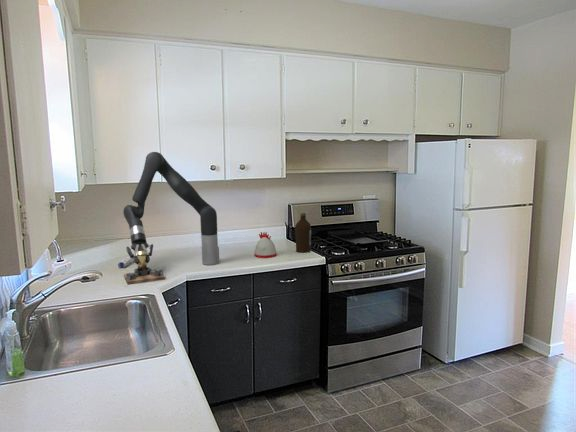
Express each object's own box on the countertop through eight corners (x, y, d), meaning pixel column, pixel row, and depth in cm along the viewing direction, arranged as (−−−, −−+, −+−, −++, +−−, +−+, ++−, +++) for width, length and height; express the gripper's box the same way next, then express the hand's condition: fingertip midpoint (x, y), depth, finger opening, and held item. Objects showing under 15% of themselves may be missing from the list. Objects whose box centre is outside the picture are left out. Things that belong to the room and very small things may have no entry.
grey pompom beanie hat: (261, 252, 269) (260, 229, 267) (280, 254, 263) (279, 231, 261) (250, 257, 256) (249, 233, 254) (269, 259, 250) (269, 234, 248)
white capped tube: (116, 262, 233) (134, 246, 257) (117, 273, 234) (135, 256, 258) (125, 262, 232) (142, 246, 256) (126, 273, 234) (144, 256, 258)
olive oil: (295, 253, 264) (295, 214, 261) (294, 249, 275) (294, 212, 271) (312, 252, 265) (312, 214, 261) (310, 249, 275) (310, 212, 272)
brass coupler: (146, 268, 218) (145, 249, 217) (147, 270, 214) (146, 251, 213) (137, 269, 216) (135, 250, 215) (138, 271, 212) (137, 252, 211)
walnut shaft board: (159, 272, 224) (158, 269, 224) (165, 279, 210) (165, 276, 210) (123, 276, 216) (123, 274, 216) (127, 284, 202) (127, 281, 202)
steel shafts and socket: (158, 269, 223) (158, 264, 223) (163, 275, 212) (163, 270, 211) (124, 274, 215) (123, 269, 215) (127, 280, 204) (127, 275, 203)
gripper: (124, 233, 216) (128, 260, 207) (152, 230, 222) (157, 257, 214) (123, 241, 221) (127, 268, 212) (151, 238, 228) (156, 265, 219)
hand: (142, 262), depth 213 cm, fingers closed on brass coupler, 4 cm apart
